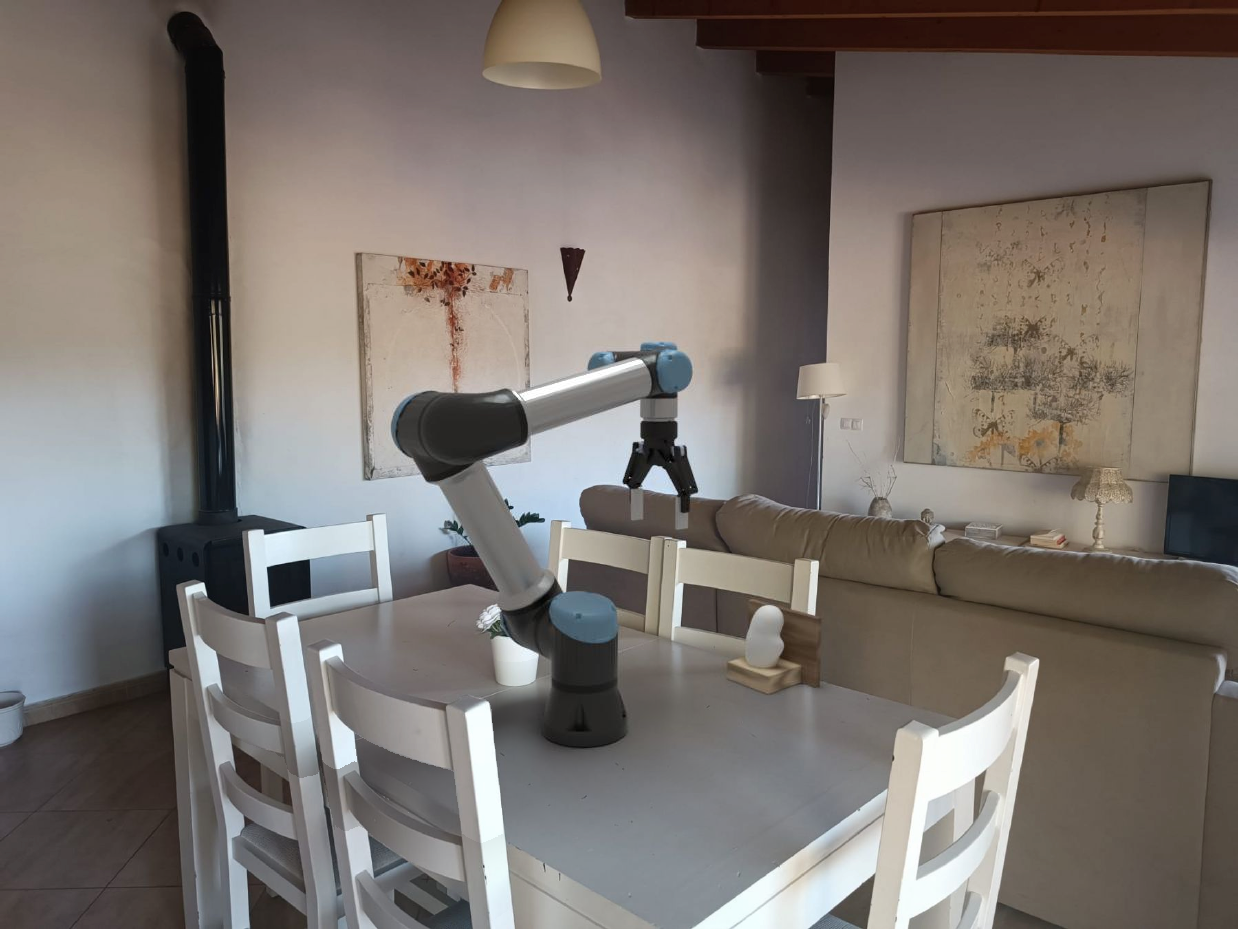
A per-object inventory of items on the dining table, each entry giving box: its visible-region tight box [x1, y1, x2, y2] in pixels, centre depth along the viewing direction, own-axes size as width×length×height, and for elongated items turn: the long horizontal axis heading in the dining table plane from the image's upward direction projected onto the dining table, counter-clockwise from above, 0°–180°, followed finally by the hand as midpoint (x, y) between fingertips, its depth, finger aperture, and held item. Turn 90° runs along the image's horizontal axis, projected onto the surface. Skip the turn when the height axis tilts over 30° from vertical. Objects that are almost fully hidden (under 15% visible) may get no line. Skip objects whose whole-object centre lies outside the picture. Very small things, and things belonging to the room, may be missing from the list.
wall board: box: [726, 598, 822, 695], centre depth 175 cm, size 12×18×14 cm, turn 39°
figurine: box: [744, 605, 784, 668], centre depth 174 cm, size 7×8×12 cm
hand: (658, 524), depth 175 cm, fingers open, 13 cm apart
